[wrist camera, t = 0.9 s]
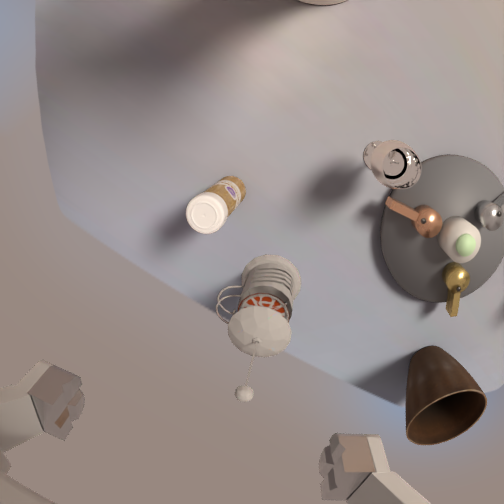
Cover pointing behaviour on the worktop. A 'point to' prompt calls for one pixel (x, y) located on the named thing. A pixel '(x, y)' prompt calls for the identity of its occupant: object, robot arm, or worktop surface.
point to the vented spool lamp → (263, 310)
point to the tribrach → (443, 228)
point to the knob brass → (454, 285)
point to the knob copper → (418, 217)
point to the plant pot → (440, 398)
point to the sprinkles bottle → (215, 205)
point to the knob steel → (490, 213)
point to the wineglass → (393, 163)
